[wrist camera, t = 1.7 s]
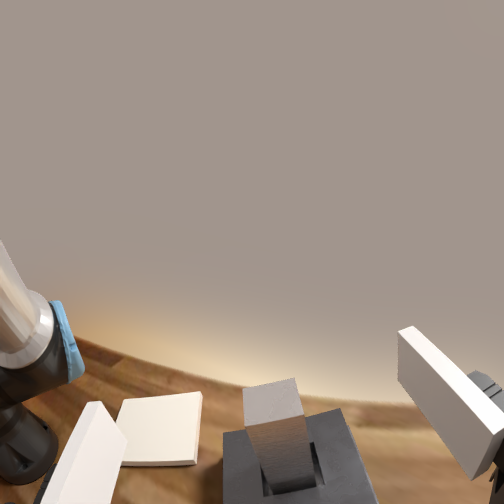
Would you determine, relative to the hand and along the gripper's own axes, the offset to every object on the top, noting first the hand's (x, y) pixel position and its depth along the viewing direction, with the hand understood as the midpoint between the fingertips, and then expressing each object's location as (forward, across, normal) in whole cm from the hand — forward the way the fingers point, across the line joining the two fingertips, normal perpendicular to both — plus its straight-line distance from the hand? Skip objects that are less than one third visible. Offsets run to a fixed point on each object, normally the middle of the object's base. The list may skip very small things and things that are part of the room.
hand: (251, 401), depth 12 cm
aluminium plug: (+10, 0, -23) cm, 25 cm away
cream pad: (+23, -19, -23) cm, 38 cm away
